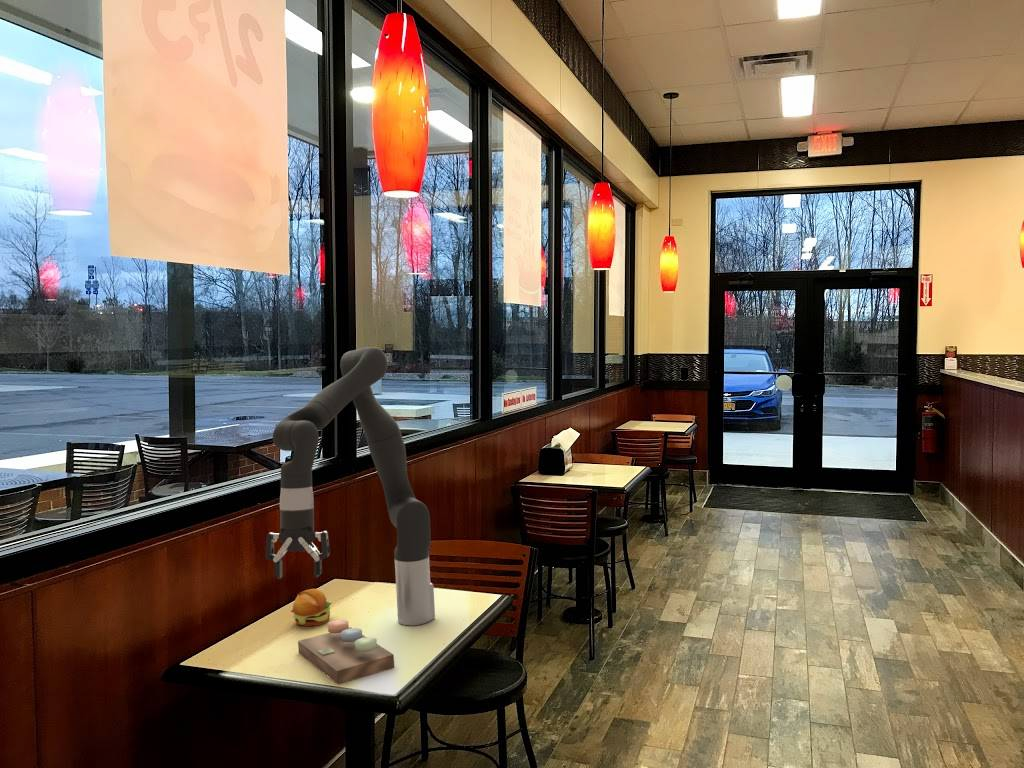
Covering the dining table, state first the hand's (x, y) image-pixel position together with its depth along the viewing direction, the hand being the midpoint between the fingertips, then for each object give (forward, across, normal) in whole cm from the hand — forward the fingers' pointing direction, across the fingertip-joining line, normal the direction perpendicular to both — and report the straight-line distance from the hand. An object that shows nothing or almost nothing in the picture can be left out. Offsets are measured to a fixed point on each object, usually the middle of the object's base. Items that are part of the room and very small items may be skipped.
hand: (298, 577), depth 186 cm
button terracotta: (+16, -6, -15) cm, 23 cm away
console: (+21, -9, -8) cm, 24 cm away
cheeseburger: (+20, +6, -36) cm, 41 cm away
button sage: (+17, -15, -2) cm, 23 cm away
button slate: (+17, -10, -8) cm, 21 cm away
